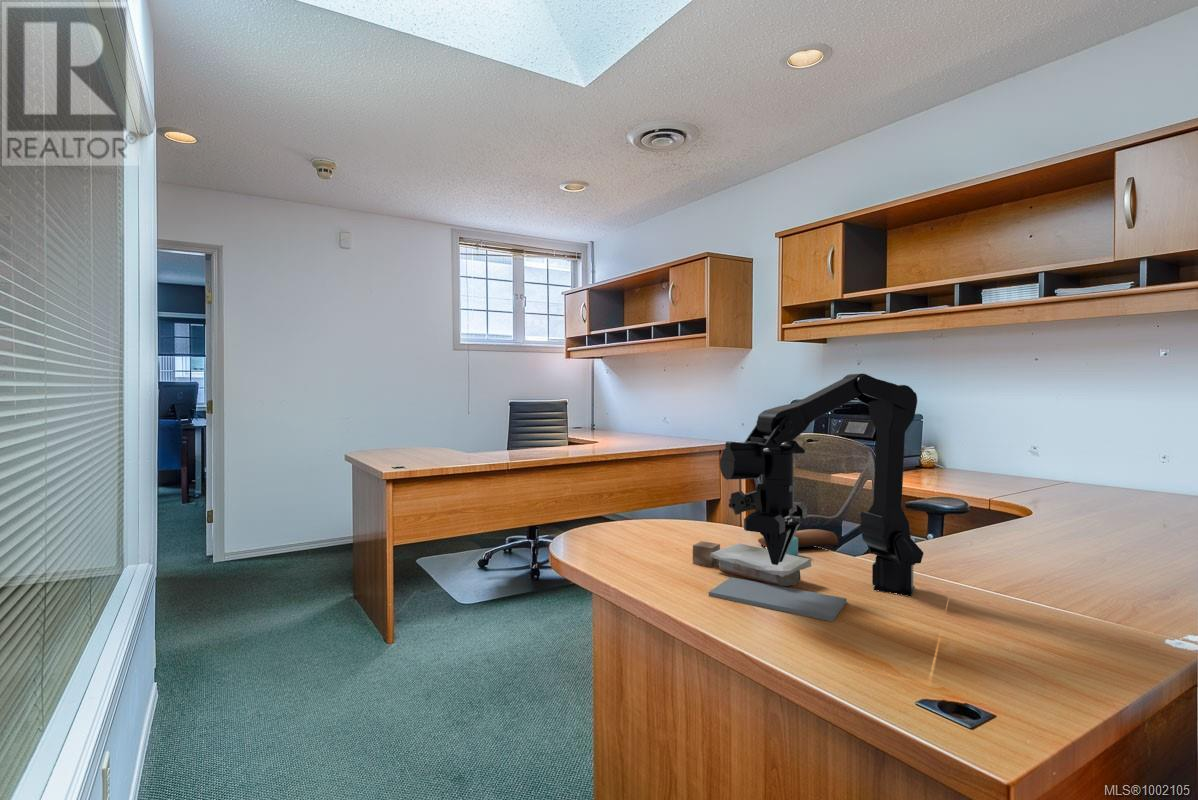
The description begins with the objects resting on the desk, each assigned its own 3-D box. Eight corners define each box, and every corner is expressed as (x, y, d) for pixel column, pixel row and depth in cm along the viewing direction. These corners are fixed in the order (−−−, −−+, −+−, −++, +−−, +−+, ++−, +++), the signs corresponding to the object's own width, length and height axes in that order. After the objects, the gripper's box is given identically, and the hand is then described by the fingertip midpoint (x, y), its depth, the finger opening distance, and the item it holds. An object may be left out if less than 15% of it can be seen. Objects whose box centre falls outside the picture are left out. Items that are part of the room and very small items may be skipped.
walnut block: (719, 564, 131) (719, 544, 131) (711, 568, 128) (711, 548, 128) (701, 561, 134) (701, 541, 134) (692, 565, 130) (692, 545, 130)
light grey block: (739, 562, 131) (710, 573, 125) (738, 541, 131) (709, 551, 125) (813, 582, 117) (784, 595, 111) (812, 558, 117) (783, 570, 111)
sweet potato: (816, 535, 153) (826, 518, 149) (830, 557, 147) (841, 540, 143) (755, 539, 147) (764, 522, 144) (767, 562, 142) (777, 545, 138)
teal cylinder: (800, 556, 138) (800, 537, 138) (795, 560, 134) (795, 540, 134) (780, 553, 141) (780, 534, 141) (775, 557, 137) (775, 538, 137)
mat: (846, 602, 106) (846, 598, 106) (832, 621, 97) (832, 616, 97) (730, 581, 119) (730, 577, 119) (708, 596, 110) (708, 591, 110)
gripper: (751, 470, 120) (751, 546, 120) (716, 480, 105) (715, 568, 105) (808, 474, 114) (807, 554, 114) (778, 485, 99) (778, 578, 99)
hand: (776, 563), depth 108 cm, fingers closed
